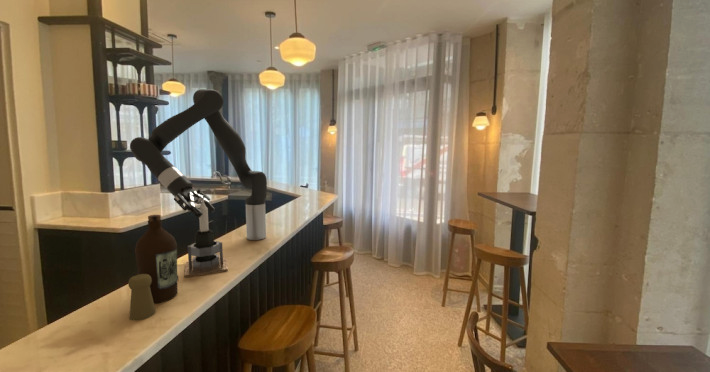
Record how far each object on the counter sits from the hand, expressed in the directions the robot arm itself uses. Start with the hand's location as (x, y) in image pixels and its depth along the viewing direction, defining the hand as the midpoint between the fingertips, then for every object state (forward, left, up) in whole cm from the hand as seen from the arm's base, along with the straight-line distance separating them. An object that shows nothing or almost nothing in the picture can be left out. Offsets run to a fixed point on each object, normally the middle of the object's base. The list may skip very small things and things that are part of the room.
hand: (207, 213), depth 118 cm
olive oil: (+19, -14, -21) cm, 32 cm away
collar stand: (-1, -1, -21) cm, 21 cm away
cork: (+29, -17, -21) cm, 40 cm away
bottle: (-1, -1, -20) cm, 20 cm away
